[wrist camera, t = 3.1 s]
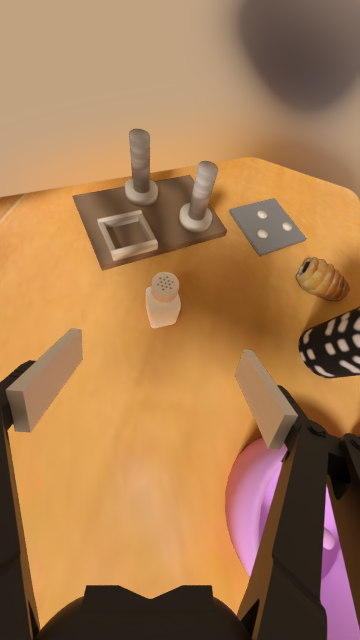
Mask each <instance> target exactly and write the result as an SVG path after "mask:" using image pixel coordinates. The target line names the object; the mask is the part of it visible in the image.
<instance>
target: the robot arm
mask: <svg viewBox="0 0 360 640" xmlns="http://www.w3.org/2000/svg"><path fill="white" fill-rule="evenodd" d="M82 360H83V357H82V330H79V329H70V330H69V331H68V332H67V333H66V334H65V335H64V336H63V337H62V338H61V339H59V340H58V341H57V342H56V343H55V344H54V345H53V346H52V347H51V348H50V349H49V350H48V351H47V352H46V353H45V354H43V355H42V356H41V357H40V358H39V359H38V360H37V361H31V360H30V361H28V362H26V363H24V364H21V365H20V366H19V367H18V368H17V369H15V370H14V372H12V373H11V374H10V375H9V376H8V377H6V378H5V379H4V380H3V381H1V382H0V640H327V614H326V609H325V608H324V607H323V605H322V604H321V600H320V590H321V572H322V555H323V537H324V520H325V503H326V485H327V489H328V493H329V498H330V502H331V506H332V511H333V515H334V520H335V524H336V528H337V533H338V537H339V542H340V546H341V550H342V555H343V559H344V564H345V568H346V572H347V577H348V581H349V586H350V590H351V594H352V599H353V603H354V608H355V612H356V616H357V621H358V625H359V630H360V437H358V436H356V435H353V434H350V433H347V434H345V435H344V436H343V437H342V439H341V438H338V437H335V436H332V435H329V434H328V433H327V431H326V430H325V429H324V428H323V427H322V426H321V425H319V424H318V423H316V422H314V421H311V420H309V419H308V418H307V416H306V415H305V414H304V412H303V411H302V410H301V408H300V407H299V406H298V404H297V403H296V402H295V400H294V399H293V398H292V396H291V395H290V394H289V392H288V391H287V390H286V389H285V388H283V387H282V386H280V385H276V383H275V382H274V380H273V379H272V378H271V376H270V375H269V373H268V372H267V370H266V369H265V368H264V366H263V365H262V363H261V362H260V360H259V359H258V358H257V356H256V355H255V353H254V352H253V350H247V349H243V352H242V355H241V358H240V362H239V365H238V368H237V371H236V374H235V377H236V379H237V381H238V383H239V386H240V388H241V390H242V392H243V394H244V397H245V399H246V401H247V403H248V406H249V408H250V410H251V412H252V414H253V417H254V419H255V421H256V423H257V426H258V428H259V430H260V432H261V434H262V437H263V439H264V441H265V443H266V446H267V448H268V449H277V450H280V449H281V447H282V446H283V444H284V443H285V445H286V447H287V451H286V453H285V455H284V457H283V459H282V460H281V462H282V463H283V464H282V467H281V471H280V474H279V478H278V481H277V485H276V488H275V492H274V495H273V499H272V502H271V506H270V509H269V513H268V516H267V520H266V523H265V527H264V531H263V534H262V538H261V541H260V545H259V548H258V552H257V555H256V559H255V562H254V566H253V569H252V573H251V576H250V580H249V583H248V587H247V590H246V592H245V595H244V597H243V600H242V602H241V605H240V607H239V610H238V613H237V616H236V615H235V613H234V612H233V611H232V610H231V609H230V608H229V607H228V606H227V605H225V604H224V603H223V602H222V601H220V600H219V599H217V598H215V597H213V592H212V585H182V586H180V587H178V588H176V589H173V590H171V591H169V592H167V593H164V594H162V595H160V596H158V597H155V598H153V599H148V598H145V597H143V596H141V595H139V594H136V593H134V592H132V591H130V590H127V589H125V588H123V587H121V586H119V585H86V590H85V594H84V596H83V597H80V598H78V599H76V600H74V601H73V602H71V603H69V604H68V605H66V606H65V607H64V608H63V609H61V610H60V611H59V612H58V613H57V614H56V615H54V616H53V617H52V618H51V619H50V620H49V621H48V622H47V623H46V625H45V626H44V627H43V628H42V629H41V630H40V624H39V618H38V613H37V607H36V602H35V597H34V592H33V587H32V581H31V575H30V568H29V562H28V556H27V549H26V543H25V537H24V531H23V524H22V518H21V512H20V505H19V499H18V493H17V487H16V480H15V474H14V468H13V461H12V455H11V449H10V443H9V436H8V432H7V430H8V429H9V428H10V427H11V425H12V424H13V425H14V429H15V431H18V432H31V431H32V430H33V428H34V427H35V426H36V424H37V423H38V421H39V420H40V419H41V417H42V416H43V414H44V413H45V412H46V410H47V409H48V407H49V406H50V404H51V403H52V402H53V400H54V399H55V397H56V396H57V395H58V393H59V392H60V390H61V389H62V388H63V386H64V385H65V383H66V382H67V381H68V379H69V378H70V376H71V375H72V374H73V372H74V371H75V369H76V368H77V367H78V365H79V364H80V362H81V361H82Z"/></svg>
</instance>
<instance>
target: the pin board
mask: <svg viewBox="0 0 360 640" xmlns="http://www.w3.org/2000/svg"><path fill="white" fill-rule="evenodd" d="M129 139H130V151H131V165H132V178H130V179H129V180H128V181H127V182H126V183H125V187H120V188H114V189H108V190H103V191H97V192H91V193H86V194H80V195H74V196H73V199H74V202H75V204H76V207H77V209H78V211H79V214H80V216H81V219H82V221H83V224H84V226H85V229H86V231H87V234H88V236H89V239H90V241H91V244H92V246H93V249H94V251H95V254H96V256H97V259H98V261H99V264H100V266H101V269H102V270H106V269H109V268H113V267H116V266H120V265H123V264H127V263H130V262H134V261H137V260H141V259H144V258H148V257H151V256H155V255H158V254H162V253H165V252H169V251H172V250H176V249H179V248H183V247H186V246H190V245H193V244H197V243H200V242H204V241H207V240H211V239H214V238H218V237H221V236H225V234H226V232H227V230H226V228H225V227H224V225H223V224H222V222H221V221H220V219H219V218H218V216H217V215H216V213H215V212H214V210H213V209H212V207H211V206H210V204H209V199H210V196H211V193H212V189H213V186H214V183H215V179H216V176H217V173H218V167H217V166H216V165H215V164H214V163H212V162H209V161H202V162H200V163H199V164H198V168H197V173H196V178H195V182H194V180H193V179H192V177H191V176H190V175H188V176H182V177H176V178H171V179H165V180H159V181H152V180H151V179H150V136H149V133H148V132H146V131H144V130H142V129H133V130H131V131H130V132H129Z"/></svg>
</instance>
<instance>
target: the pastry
mask: <svg viewBox="0 0 360 640" xmlns="http://www.w3.org/2000/svg"><path fill="white" fill-rule="evenodd" d="M296 278H297V281H298V282H299V285H300V286H301V287H302V288H303V289H305V290H307V291H309V293H311V294H313V295H316V296H318V297H322V298H324V299H328V300H332V301H334V300H335V301H338V300H341V299H343V298H344V297H346V295H347V293H348V292H349V291H350V288H349V286H348V283H347V282H346V281H345V280H344V277H343V276H341V275H340V274H339V271H338V270H335V269H334V266H333V265H332V264H327V263H326V261H325V260H324V259H318V260H317V258H316V257H313V258H309V259H307V260H305V262H304V264H303V266H301V267H300V270H299V273H298V274H297V276H296Z"/></svg>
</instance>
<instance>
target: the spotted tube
mask: <svg viewBox="0 0 360 640" xmlns="http://www.w3.org/2000/svg"><path fill="white" fill-rule="evenodd" d="M299 352H300V355H301V358H302V359H303V361H304V363H305V364H306V366H307V367H308V368H309V369H310V370H311V371H312V372H314V373H315V374H317V375H319V376H321V377H324V378H338V377H347V376H356V375H360V307H358V308H356V309H354V310H351V311H349V312H347V313H344V314H342V315H340V316H338V317H335V318H333V319H331V320H328V321H326V322H324V323H322V324H319V325H317V326H315V327H312V328H310V329H308V330H306V331H305V332H304V333H303V334H302V335H301V337H300V340H299Z"/></svg>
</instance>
